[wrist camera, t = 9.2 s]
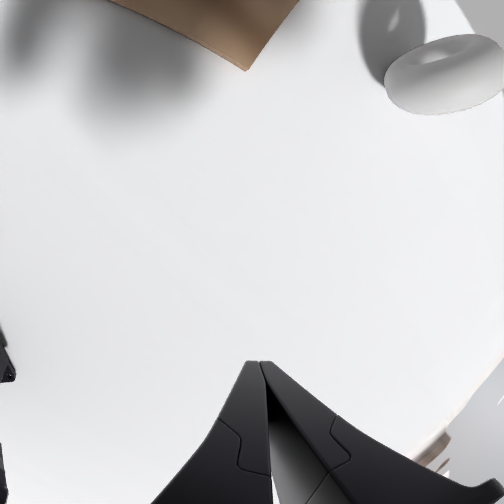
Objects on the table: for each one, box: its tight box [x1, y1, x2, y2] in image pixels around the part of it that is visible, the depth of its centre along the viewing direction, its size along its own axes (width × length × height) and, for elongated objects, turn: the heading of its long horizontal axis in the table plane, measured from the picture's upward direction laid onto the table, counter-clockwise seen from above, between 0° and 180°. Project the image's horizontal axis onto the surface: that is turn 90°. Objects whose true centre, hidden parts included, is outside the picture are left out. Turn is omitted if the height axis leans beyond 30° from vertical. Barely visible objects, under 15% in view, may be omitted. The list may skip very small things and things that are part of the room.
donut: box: [384, 34, 504, 115], centre depth 15 cm, size 10×4×10 cm, turn 129°
